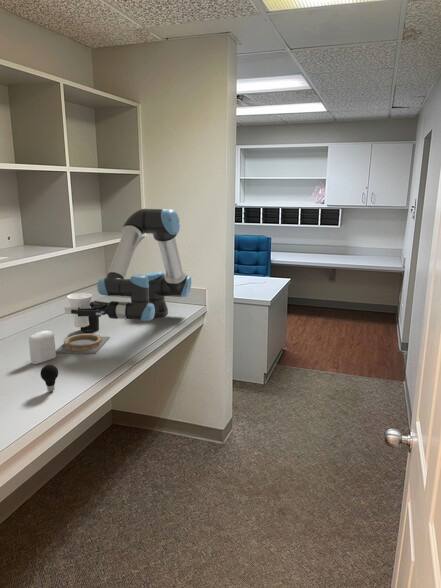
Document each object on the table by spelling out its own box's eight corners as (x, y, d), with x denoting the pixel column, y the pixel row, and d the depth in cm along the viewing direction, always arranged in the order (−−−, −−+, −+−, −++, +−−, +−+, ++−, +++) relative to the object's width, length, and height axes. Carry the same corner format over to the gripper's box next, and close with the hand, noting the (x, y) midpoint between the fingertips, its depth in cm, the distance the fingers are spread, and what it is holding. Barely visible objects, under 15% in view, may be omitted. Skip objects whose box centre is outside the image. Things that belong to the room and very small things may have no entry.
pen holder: (75, 331, 218) (74, 312, 215) (89, 326, 226) (88, 307, 223) (90, 334, 213) (88, 314, 211) (103, 329, 222) (102, 309, 219)
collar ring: (72, 337, 208) (72, 333, 208) (106, 338, 207) (106, 334, 207) (58, 349, 193) (58, 345, 192) (94, 350, 192) (94, 346, 191)
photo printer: (51, 355, 188) (49, 327, 185) (57, 357, 186) (55, 329, 183) (29, 363, 180) (26, 334, 177) (35, 365, 178) (32, 336, 175)
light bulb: (49, 386, 160) (47, 361, 157) (63, 389, 158) (61, 363, 156) (38, 394, 154) (35, 367, 152) (53, 396, 153) (50, 369, 150)
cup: (87, 329, 192) (85, 299, 188) (64, 328, 194) (62, 298, 190) (98, 322, 202) (96, 293, 198) (76, 321, 204) (74, 292, 200)
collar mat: (72, 336, 210) (72, 335, 210) (109, 337, 209) (109, 336, 209) (54, 352, 191) (54, 351, 191) (95, 354, 190) (95, 352, 190)
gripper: (108, 326, 183) (58, 322, 187) (128, 311, 204) (83, 308, 208) (107, 308, 181) (57, 305, 185) (128, 295, 202) (82, 293, 206)
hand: (70, 307), depth 196 cm, fingers closed on cup, 9 cm apart
